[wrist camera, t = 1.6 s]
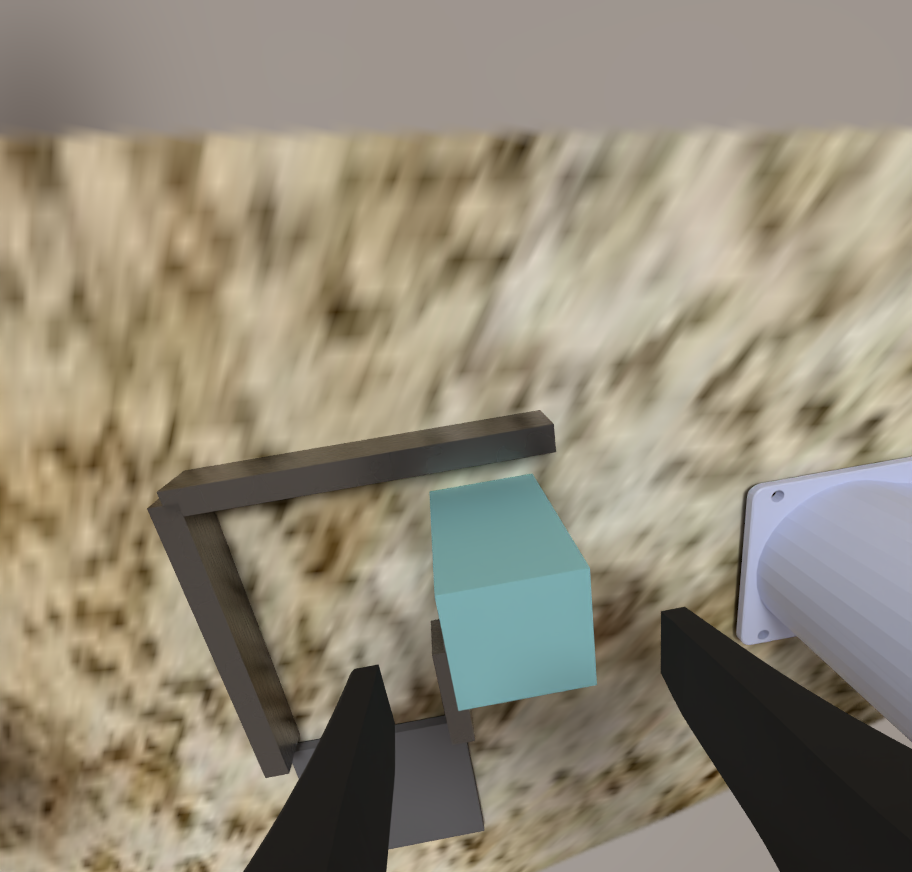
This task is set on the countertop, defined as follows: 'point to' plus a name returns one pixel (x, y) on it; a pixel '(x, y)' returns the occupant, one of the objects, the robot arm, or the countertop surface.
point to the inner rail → (450, 691)
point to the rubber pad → (425, 784)
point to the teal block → (510, 593)
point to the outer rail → (287, 476)
